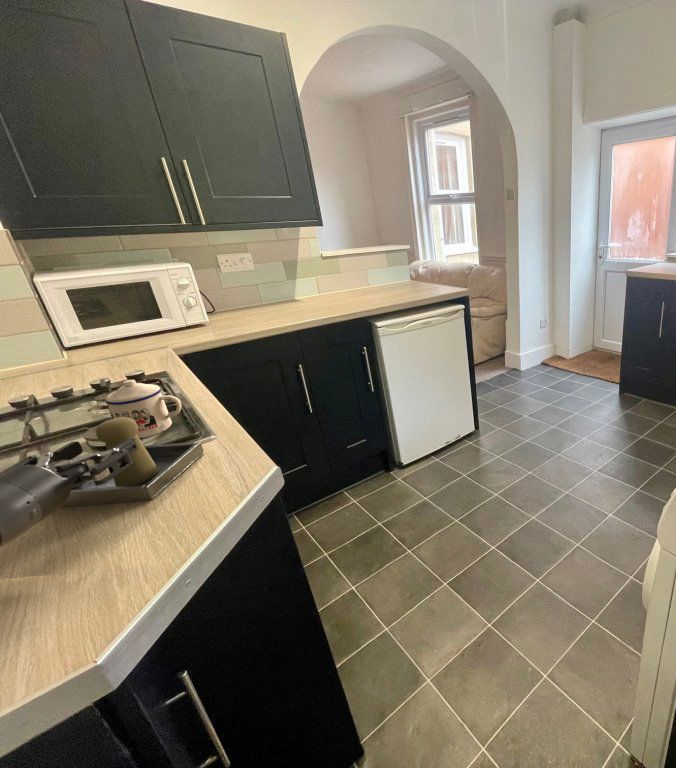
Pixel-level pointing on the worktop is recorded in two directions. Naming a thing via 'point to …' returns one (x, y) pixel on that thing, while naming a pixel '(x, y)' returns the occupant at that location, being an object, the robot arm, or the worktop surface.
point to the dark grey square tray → (170, 467)
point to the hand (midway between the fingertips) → (106, 444)
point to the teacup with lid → (142, 407)
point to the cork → (142, 461)
